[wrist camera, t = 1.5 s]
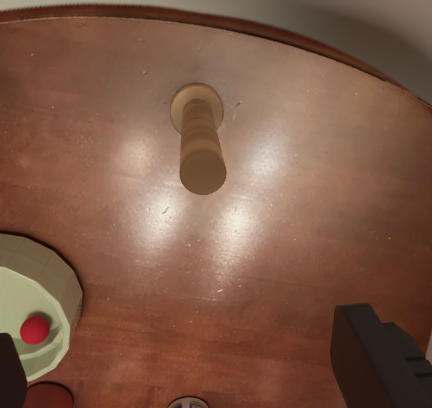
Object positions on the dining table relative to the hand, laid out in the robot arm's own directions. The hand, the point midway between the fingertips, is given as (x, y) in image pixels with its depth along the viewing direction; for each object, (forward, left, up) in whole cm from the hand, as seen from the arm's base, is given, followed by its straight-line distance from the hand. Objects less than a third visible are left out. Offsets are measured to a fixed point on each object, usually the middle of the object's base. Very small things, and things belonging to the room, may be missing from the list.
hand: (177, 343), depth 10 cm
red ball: (+10, -25, -24) cm, 36 cm away
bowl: (+6, -25, -26) cm, 37 cm away
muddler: (+1, +1, -26) cm, 26 cm away
